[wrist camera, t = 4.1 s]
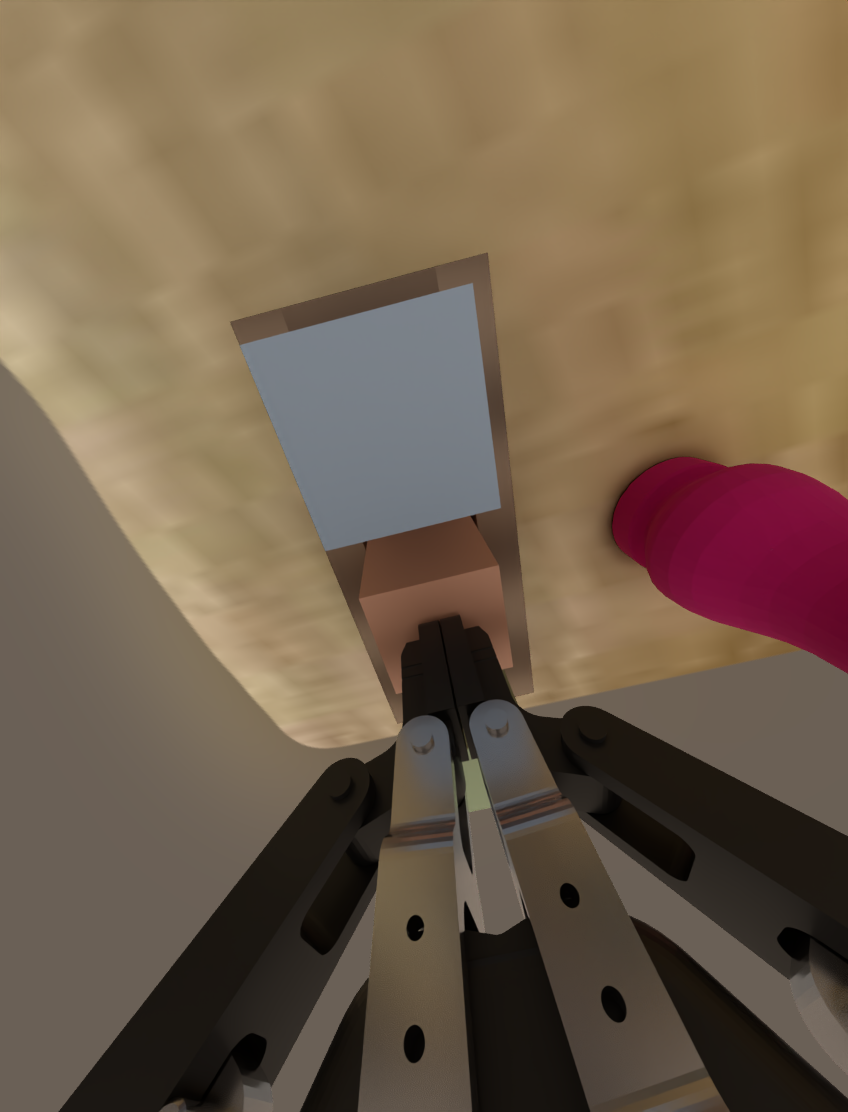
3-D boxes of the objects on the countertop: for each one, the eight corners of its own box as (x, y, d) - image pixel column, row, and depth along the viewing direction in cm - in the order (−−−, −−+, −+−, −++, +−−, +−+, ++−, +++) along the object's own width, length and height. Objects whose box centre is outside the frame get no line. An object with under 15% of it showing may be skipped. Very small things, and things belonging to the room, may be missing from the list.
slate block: (313, 362, 13) (239, 345, 6) (432, 330, 13) (472, 283, 6) (353, 480, 15) (325, 551, 9) (455, 454, 15) (500, 508, 8)
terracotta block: (370, 519, 17) (358, 598, 11) (459, 497, 17) (498, 565, 11) (394, 592, 19) (396, 694, 13) (473, 573, 19) (513, 667, 13)
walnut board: (260, 332, 14) (230, 322, 12) (469, 276, 14) (487, 252, 11) (396, 686, 24) (397, 723, 22) (518, 658, 24) (533, 692, 22)
